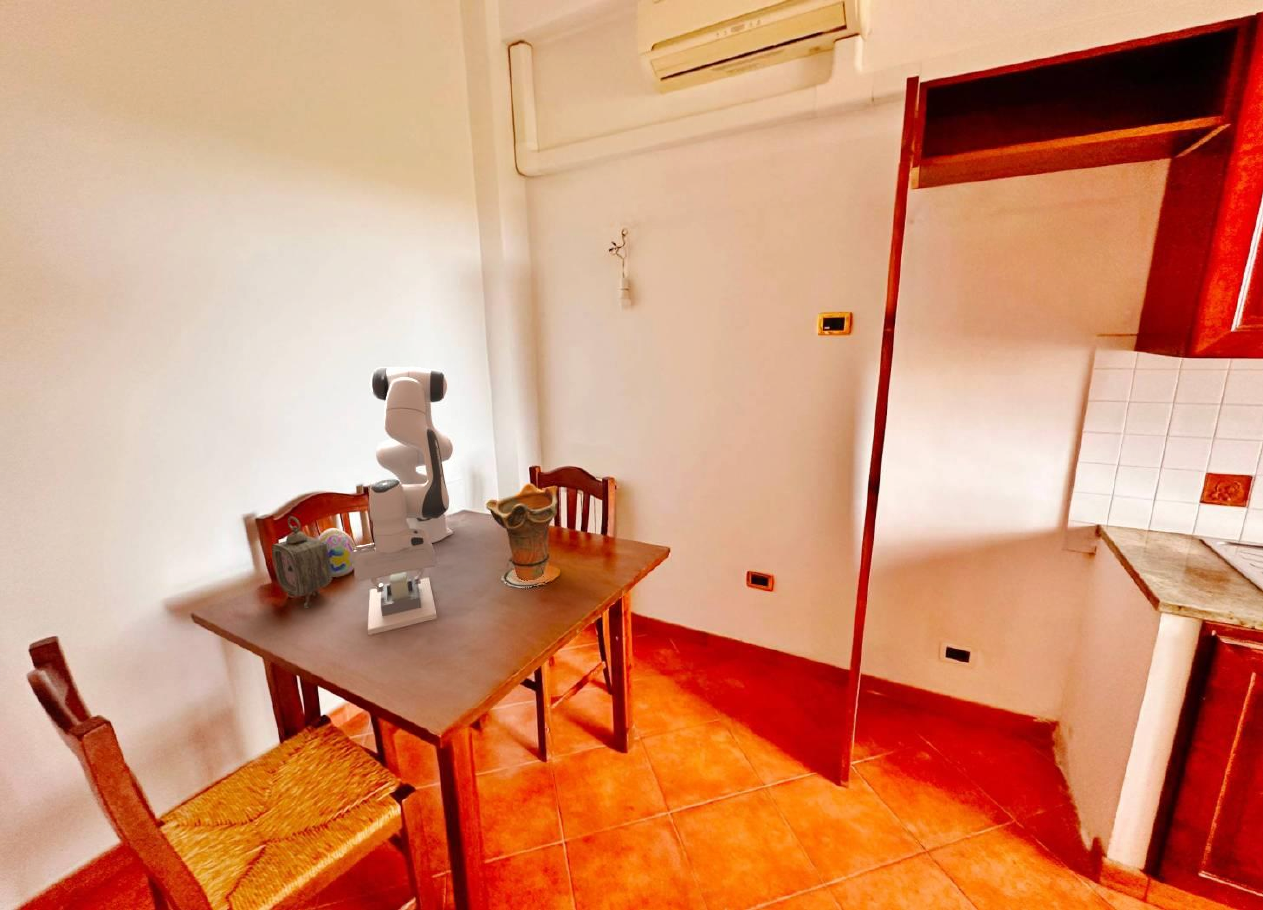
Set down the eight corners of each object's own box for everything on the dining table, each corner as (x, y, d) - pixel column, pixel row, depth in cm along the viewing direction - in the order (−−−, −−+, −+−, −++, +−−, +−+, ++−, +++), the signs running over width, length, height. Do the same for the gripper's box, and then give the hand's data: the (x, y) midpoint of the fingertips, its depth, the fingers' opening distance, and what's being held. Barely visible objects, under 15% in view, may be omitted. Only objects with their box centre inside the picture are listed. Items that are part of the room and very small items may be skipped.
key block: (393, 609, 134) (390, 585, 132) (393, 596, 141) (390, 573, 139) (409, 605, 135) (406, 581, 134) (408, 593, 142) (405, 570, 141)
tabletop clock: (280, 599, 144) (264, 517, 139) (314, 586, 152) (299, 508, 146) (304, 612, 136) (287, 526, 131) (338, 598, 144) (324, 516, 138)
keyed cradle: (370, 594, 145) (368, 580, 144) (429, 581, 152) (427, 568, 151) (368, 635, 124) (365, 618, 123) (436, 618, 131) (434, 602, 130)
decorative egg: (317, 585, 152) (309, 539, 149) (314, 571, 162) (306, 528, 159) (362, 573, 159) (355, 529, 156) (356, 561, 169) (350, 519, 166)
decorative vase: (478, 588, 146) (472, 495, 141) (518, 560, 168) (514, 479, 163) (543, 597, 140) (538, 500, 135) (575, 566, 161) (573, 482, 157)
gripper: (348, 552, 127) (356, 601, 130) (433, 536, 136) (439, 583, 139) (349, 543, 132) (357, 591, 135) (431, 529, 141) (437, 574, 144)
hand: (399, 587), depth 137 cm, fingers open, 8 cm apart
